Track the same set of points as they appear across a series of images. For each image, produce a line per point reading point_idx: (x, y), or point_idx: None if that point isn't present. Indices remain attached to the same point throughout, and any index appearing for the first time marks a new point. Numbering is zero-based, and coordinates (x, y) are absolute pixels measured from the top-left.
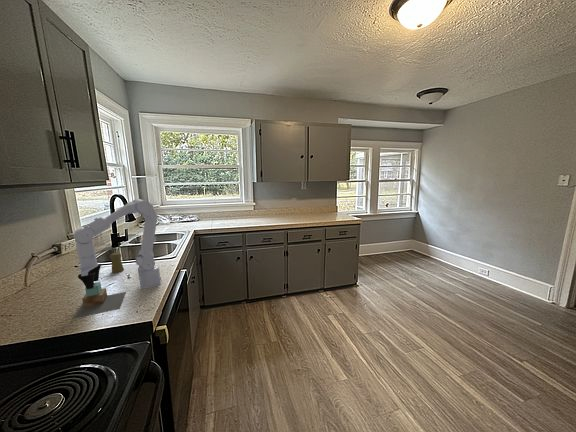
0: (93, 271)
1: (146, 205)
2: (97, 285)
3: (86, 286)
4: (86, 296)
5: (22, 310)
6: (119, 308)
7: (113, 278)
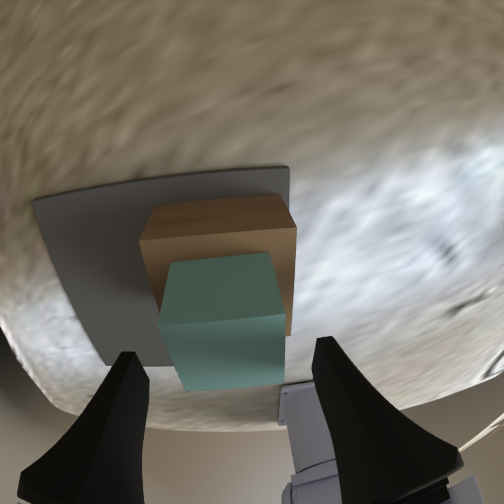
0: (352, 458)
1: None
2: (197, 387)
3: (109, 379)
4: (175, 259)
5: None
6: (108, 364)
7: (498, 243)
